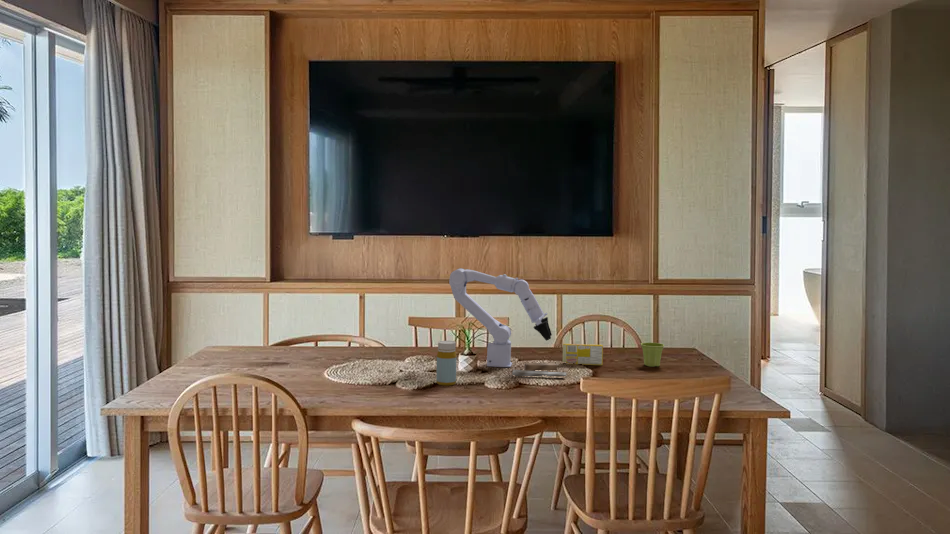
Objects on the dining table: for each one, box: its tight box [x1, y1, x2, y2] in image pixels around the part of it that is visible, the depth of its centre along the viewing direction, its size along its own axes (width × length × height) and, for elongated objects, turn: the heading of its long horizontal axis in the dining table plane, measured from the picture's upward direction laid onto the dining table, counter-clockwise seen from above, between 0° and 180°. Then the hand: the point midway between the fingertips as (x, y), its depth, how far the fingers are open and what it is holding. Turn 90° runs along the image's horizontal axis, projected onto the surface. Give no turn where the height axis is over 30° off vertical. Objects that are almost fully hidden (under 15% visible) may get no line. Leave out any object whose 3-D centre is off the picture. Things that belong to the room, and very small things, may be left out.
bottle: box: [435, 340, 457, 387], centre depth 283 cm, size 7×7×15 cm
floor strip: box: [511, 369, 567, 377], centre depth 299 cm, size 20×6×2 cm, turn 82°
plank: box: [524, 362, 558, 371], centre depth 309 cm, size 12×4×3 cm, turn 97°
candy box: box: [562, 343, 604, 366], centre depth 323 cm, size 16×2×8 cm, turn 84°
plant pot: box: [640, 342, 665, 367], centre depth 323 cm, size 9×9×9 cm
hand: (549, 337), depth 314 cm, fingers open, 7 cm apart
